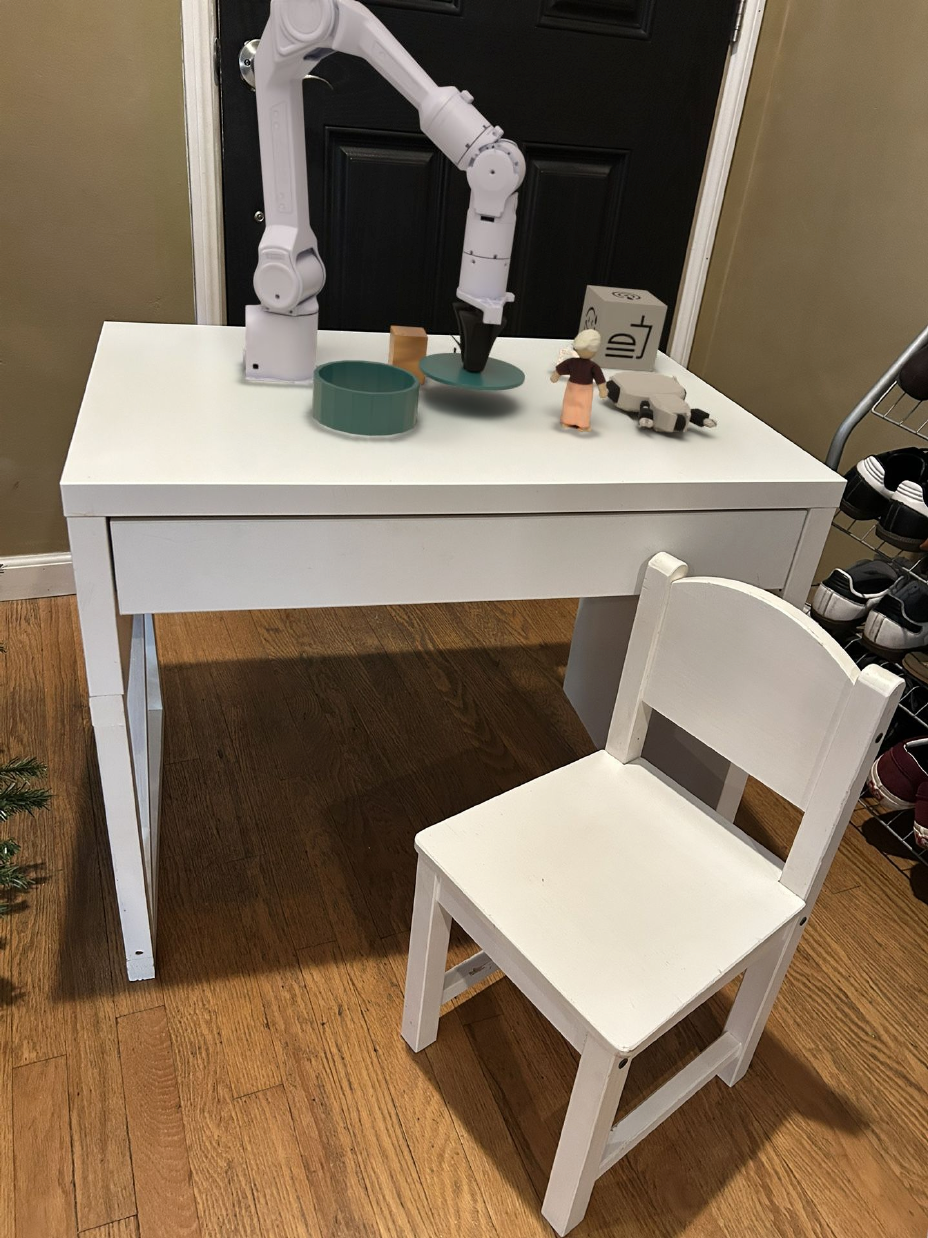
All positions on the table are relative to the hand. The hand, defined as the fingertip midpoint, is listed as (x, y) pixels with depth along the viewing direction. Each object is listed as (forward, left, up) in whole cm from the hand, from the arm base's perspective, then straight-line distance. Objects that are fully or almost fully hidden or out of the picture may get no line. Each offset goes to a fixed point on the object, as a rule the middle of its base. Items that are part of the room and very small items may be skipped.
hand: (472, 366), depth 119 cm
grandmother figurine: (+13, -6, -6) cm, 15 cm away
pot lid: (0, 0, -1) cm, 1 cm away
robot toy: (+26, -1, -6) cm, 26 cm away
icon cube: (+30, +27, -6) cm, 41 cm away
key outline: (+20, +19, -6) cm, 28 cm away
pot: (-14, -6, -6) cm, 16 cm away
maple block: (-7, +9, -6) cm, 13 cm away
